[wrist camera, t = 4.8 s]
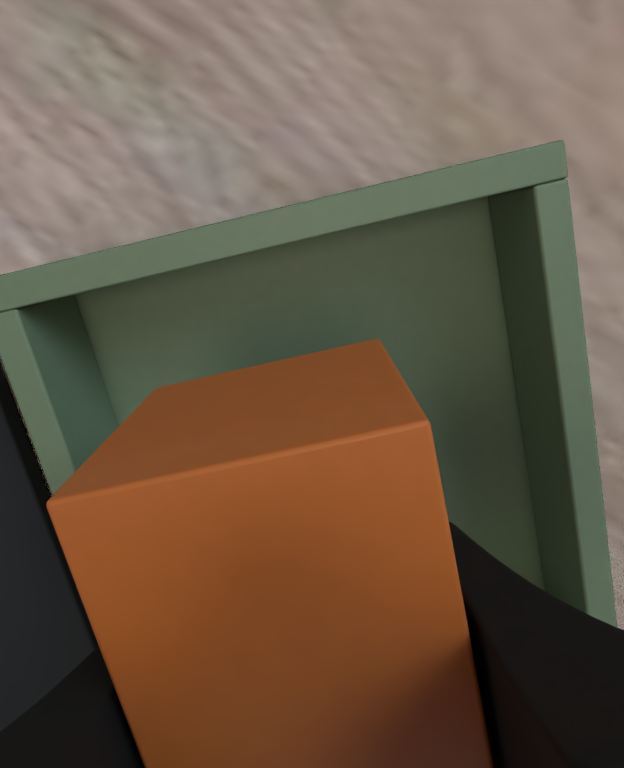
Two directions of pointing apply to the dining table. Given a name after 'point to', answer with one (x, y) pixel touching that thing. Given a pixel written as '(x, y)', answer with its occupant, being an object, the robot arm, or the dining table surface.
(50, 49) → the dining table surface
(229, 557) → the orange rectangular block
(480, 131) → the dining table surface
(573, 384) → the green tray
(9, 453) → the mat
